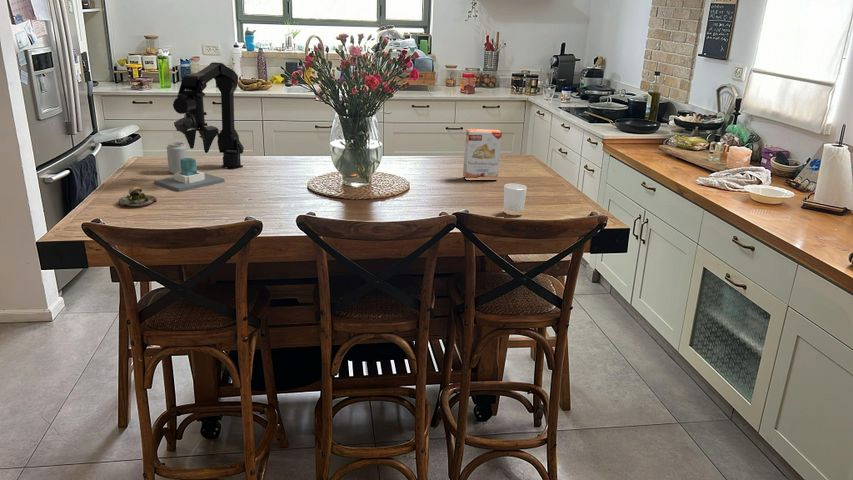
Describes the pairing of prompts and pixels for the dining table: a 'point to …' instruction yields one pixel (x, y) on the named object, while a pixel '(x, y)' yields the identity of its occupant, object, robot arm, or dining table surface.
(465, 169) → the cracker box
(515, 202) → the white cup
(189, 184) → the holder
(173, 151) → the can
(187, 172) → the peg
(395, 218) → the dining table surface
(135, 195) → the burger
